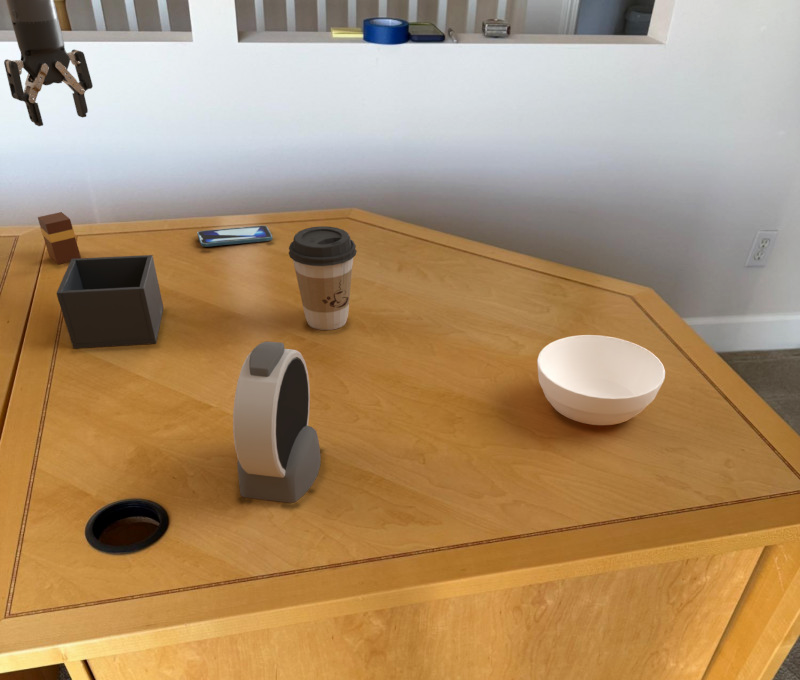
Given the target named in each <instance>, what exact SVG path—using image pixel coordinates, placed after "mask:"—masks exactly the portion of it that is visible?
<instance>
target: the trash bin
mask: <svg viewBox="0 0 800 680" xmlns="http://www.w3.org/2000/svg"><path fill="white" fill-rule="evenodd" d="M68 263H69V264H68V265H67V268H66V270H65V272H64V274H63V277H62V279H61V281H60V284H59V286H58V289H57V290H56V293H55V294H56V297H57V300H58V303H59V307H60V309H61V313H62V316H63V319H64V323H65V326H66V330H67V333H68V336H69V340H70V343H71V346H72V349H73V350H74V349H88V348H91V349H92V348H106V347H123V346H124V347H125V346H140V345H156V344H157V342H158V338H159V332H160V327H161V322H162V318H163V313H164V302H163V299H162V294H161V293H162V292H161V289H160V284H159V280H158V274H157V270H156V264H155V261H154V256H153V254H143V255H125V256H124V255H121V256H100V257H99V256H98V257H81V258H77V259H71V261H70V262H68Z"/></svg>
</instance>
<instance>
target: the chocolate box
mask: <svg viewBox="0 0 800 680" xmlns="http://www.w3.org/2000/svg"><path fill="white" fill-rule="evenodd" d="M37 221H38V224H39V227H40V231H41V235H42V236H43V240H44V243H45V247H46V250H47V252H48V257H49V258H50V259H51V260H52V261H53V262H54V263H55V264H57V265H62V264H65V263H70V261H71V259H77V258H82V257H81V253H80V250H79V246H78V243H77V239H76V238H77V237H76V235H75V230H74V228H73V224H72V221H71V219H70V218H69V217H68V216H67V215H66V213H64V212H62V211H60V212H55V213H50V214H46V215H42V216H41V215H40V216H38V217H37Z"/></svg>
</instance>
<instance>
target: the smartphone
mask: <svg viewBox="0 0 800 680" xmlns="http://www.w3.org/2000/svg"><path fill="white" fill-rule="evenodd" d="M197 238H198V240H199V243H200V246H201V247H204V248H205V247H218V246H227V245H239V244H248V243H259V242H260V243H261V242H269V241H272V240H273V234H272V232H271V231H270V228H269V227H268V226H267V225H263V224H262V225H252V226H240V227H239V226H238V227H228V228H218V229H217V228H216V229H205V230H198V231H197Z"/></svg>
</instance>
